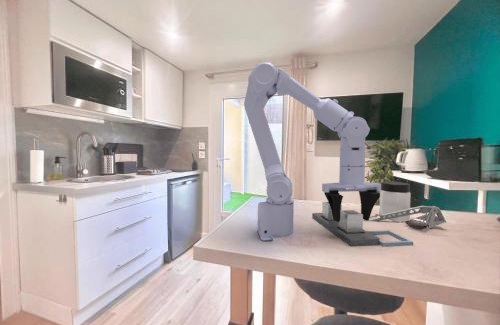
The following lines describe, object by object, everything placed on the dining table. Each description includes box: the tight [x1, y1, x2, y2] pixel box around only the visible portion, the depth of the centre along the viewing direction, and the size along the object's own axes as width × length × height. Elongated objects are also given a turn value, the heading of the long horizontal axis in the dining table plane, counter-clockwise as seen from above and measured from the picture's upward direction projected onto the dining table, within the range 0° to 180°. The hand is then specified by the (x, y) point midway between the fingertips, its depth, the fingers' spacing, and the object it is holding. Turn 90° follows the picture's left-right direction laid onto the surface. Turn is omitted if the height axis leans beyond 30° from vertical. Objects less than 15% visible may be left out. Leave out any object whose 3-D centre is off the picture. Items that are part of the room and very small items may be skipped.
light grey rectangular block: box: [339, 209, 364, 234], centre depth 56 cm, size 4×4×6 cm
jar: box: [378, 181, 412, 223], centre depth 74 cm, size 9×8×12 cm
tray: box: [366, 229, 414, 247], centre depth 54 cm, size 8×8×2 cm
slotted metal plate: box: [311, 212, 381, 248], centre depth 61 cm, size 7×22×2 cm, turn 6°
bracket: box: [369, 205, 447, 229], centre depth 67 cm, size 3×21×10 cm, turn 78°
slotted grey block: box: [321, 201, 343, 221], centre depth 66 cm, size 4×4×6 cm
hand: (350, 220), depth 56 cm, fingers open, 7 cm apart
